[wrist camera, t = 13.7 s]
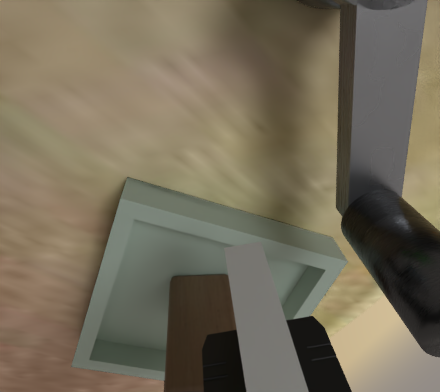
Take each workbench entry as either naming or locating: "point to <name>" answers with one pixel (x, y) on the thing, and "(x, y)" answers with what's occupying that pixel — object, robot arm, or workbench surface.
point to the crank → (385, 159)
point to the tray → (186, 272)
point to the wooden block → (194, 326)
